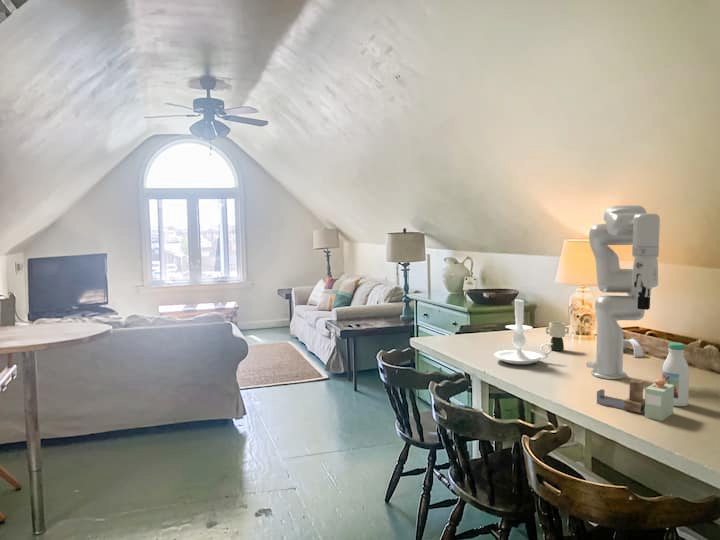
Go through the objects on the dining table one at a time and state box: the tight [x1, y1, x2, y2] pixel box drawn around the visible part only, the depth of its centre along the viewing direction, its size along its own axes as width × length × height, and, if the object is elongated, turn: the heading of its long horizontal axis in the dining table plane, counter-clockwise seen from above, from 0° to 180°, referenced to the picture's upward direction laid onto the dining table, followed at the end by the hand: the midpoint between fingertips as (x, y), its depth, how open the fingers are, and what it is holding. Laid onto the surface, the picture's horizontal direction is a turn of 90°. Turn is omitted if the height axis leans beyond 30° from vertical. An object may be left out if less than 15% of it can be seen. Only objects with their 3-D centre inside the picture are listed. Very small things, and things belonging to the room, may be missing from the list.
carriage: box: [623, 379, 645, 414], centre depth 175 cm, size 5×6×9 cm
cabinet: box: [644, 382, 674, 422], centre depth 170 cm, size 5×10×9 cm, turn 134°
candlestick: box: [493, 298, 553, 365], centre depth 238 cm, size 21×25×28 cm
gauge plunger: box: [654, 378, 666, 389], centre depth 170 cm, size 3×3×7 cm
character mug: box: [545, 321, 570, 351], centre depth 262 cm, size 11×7×13 cm, turn 90°
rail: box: [596, 389, 645, 415], centre depth 178 cm, size 16×4×4 cm, turn 44°
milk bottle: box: [661, 342, 690, 407], centre depth 181 cm, size 8×8×20 cm
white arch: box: [623, 338, 645, 358], centre depth 258 cm, size 24×12×7 cm, turn 11°
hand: (643, 308), depth 178 cm, fingers closed
